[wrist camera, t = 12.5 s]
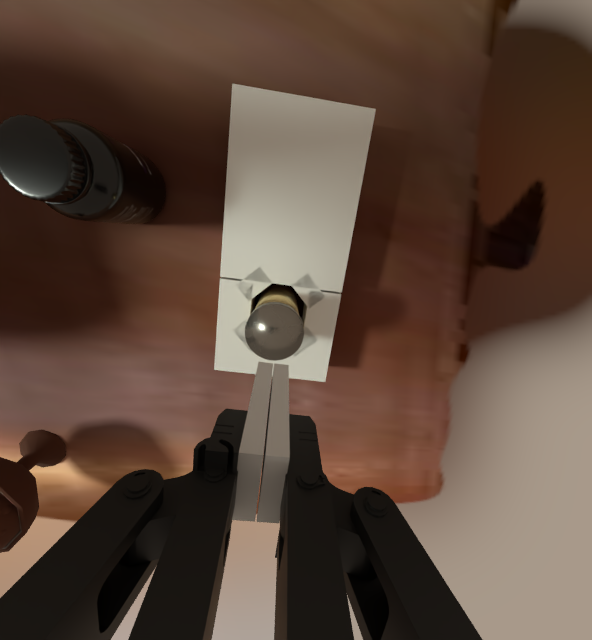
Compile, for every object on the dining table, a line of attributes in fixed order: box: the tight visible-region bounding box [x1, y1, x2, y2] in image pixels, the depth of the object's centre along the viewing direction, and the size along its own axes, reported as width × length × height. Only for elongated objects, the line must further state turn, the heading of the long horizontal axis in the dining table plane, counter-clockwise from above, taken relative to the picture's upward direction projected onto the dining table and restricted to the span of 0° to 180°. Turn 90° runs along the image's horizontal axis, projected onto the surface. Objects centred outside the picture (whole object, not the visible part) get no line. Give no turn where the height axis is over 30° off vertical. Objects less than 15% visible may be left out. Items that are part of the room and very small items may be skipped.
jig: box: [214, 84, 376, 382], centre depth 29 cm, size 12×26×4 cm, turn 172°
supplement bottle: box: [0, 115, 166, 224], centre depth 23 cm, size 7×7×12 cm
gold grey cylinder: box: [245, 285, 304, 361], centre depth 28 cm, size 5×5×10 cm
